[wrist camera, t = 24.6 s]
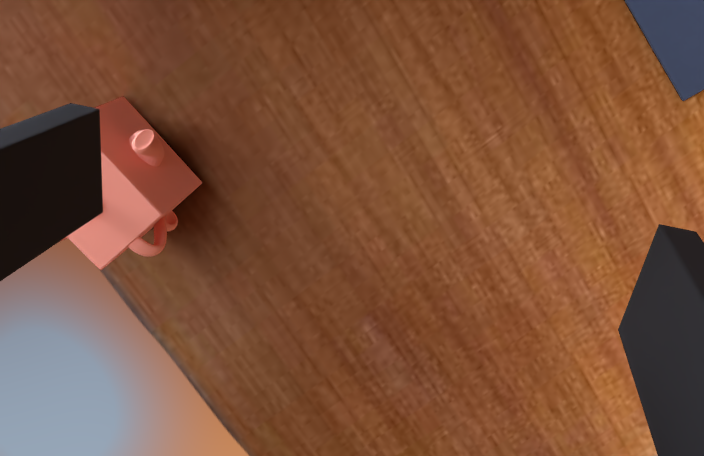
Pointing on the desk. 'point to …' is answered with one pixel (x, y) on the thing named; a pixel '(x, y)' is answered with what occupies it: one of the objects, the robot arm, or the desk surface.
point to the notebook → (675, 39)
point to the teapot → (133, 187)
